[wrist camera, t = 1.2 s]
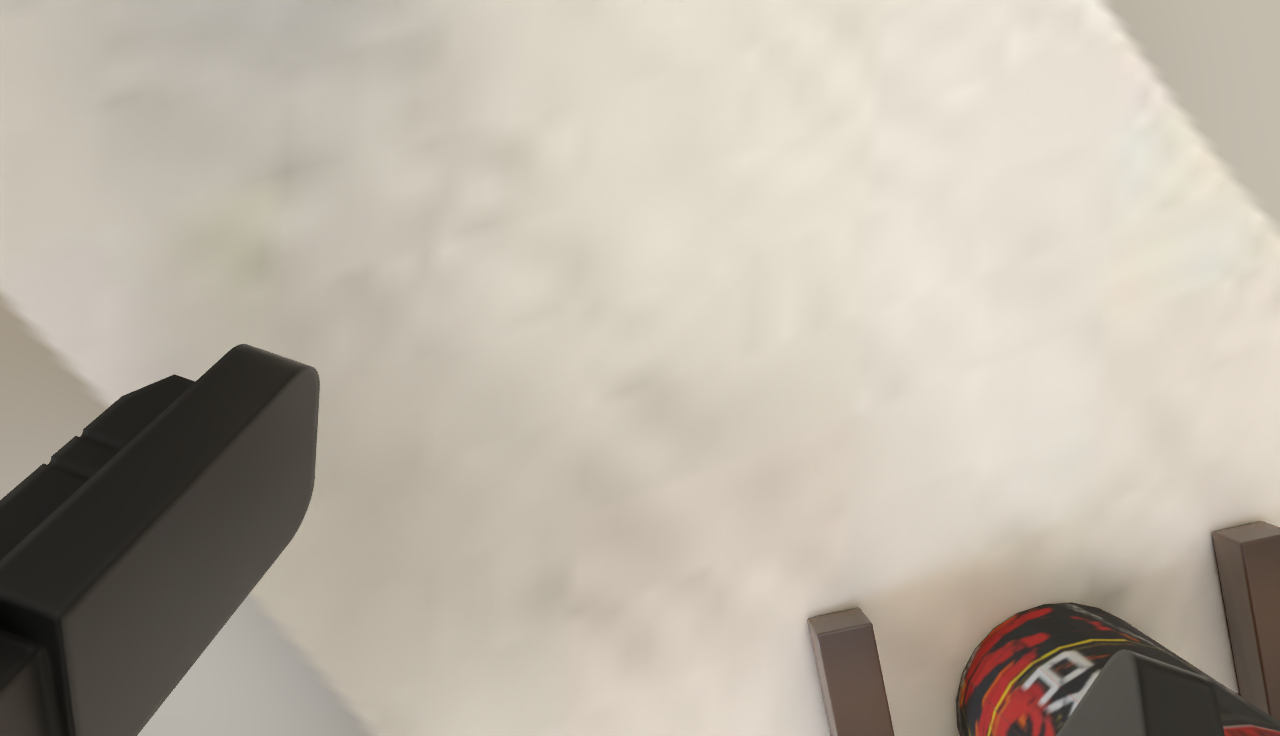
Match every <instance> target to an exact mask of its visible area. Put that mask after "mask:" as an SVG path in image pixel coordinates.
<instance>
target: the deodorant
mask: <svg viewBox="0 0 1280 736" xmlns="http://www.w3.org/2000/svg"><path fill="white" fill-rule="evenodd" d="M1123 649H1125V650H1129V651H1132V652H1135V653H1138V654H1141V655H1144V656H1147V657H1149V658H1152V659H1155V660H1158V661H1161V662H1164V663H1167V664H1170V665H1173V666H1176V667H1179V668H1181V669H1184V670H1187V671H1190V672H1193V673H1196V674H1199V675H1202V676H1204V677H1206V678H1208V679H1209V680H1210V682H1211V683H1212V685H1213V687H1214V689H1215V692H1216V696H1217V700H1218V705H1219V710H1220V715H1221V719H1222V724H1223V729H1224V733H1225V736H1280V722H1279V721H1278V720H1276V719H1275V718H1273V717H1271V716H1270V715H1268V714H1267V713H1265V712H1264V711H1262V710H1261V709H1259V708H1258V707H1256V706H1254V705H1253V704H1251V703H1250V702H1248V701H1247V700H1245V699H1244V698H1242V697H1241V696H1239V695H1237V694H1236V693H1234V692H1233V691H1231V690H1230V689H1228V688H1227V687H1225V686H1224V685H1222V684H1220V683H1219V682H1217V681H1216V680H1214V679H1213V678H1211V677H1210V676H1208V675H1207V674H1205V673H1203V672H1202V671H1200V670H1199V669H1197V668H1196V667H1194V666H1193V665H1191V664H1190V663H1188V662H1186V661H1185V660H1183V659H1182V658H1180V657H1179V656H1177V655H1176V654H1174V653H1173V652H1171V651H1169V650H1168V649H1166V648H1165V647H1163V646H1162V645H1160V644H1159V643H1157V642H1156V641H1154V640H1152V639H1151V638H1149V637H1148V636H1146V635H1145V634H1143V633H1142V632H1140V631H1139V630H1137V629H1135V628H1134V627H1132V626H1131V625H1129V624H1128V623H1126V622H1125V621H1123V620H1121V619H1119V618H1117V617H1115V616H1113V615H1111V614H1109V613H1107V612H1105V611H1103V610H1101V609H1099V608H1095V607H1090V606H1085V605H1080V604H1075V603H1061V604H1047V605H1041V606H1038V607H1035V608H1032V609H1029V610H1026V611H1023V612H1020V613H1017V614H1016V615H1014V616H1013V617H1011V618H1010V619H1008V620H1007V621H1005V622H1003V623H1002V624H1000V625H999V626H997V627H996V628H994V629H993V630H992V631H991V632H990V634H989V635H988V636H987V637H986V638H985V639H984V640H983V641H982V642H981V643H980V645H979V646H978V647H977V648H976V649H975V651H974V653H973V655H972V656H971V658H970V660H969V662H968V664H967V666H966V668H965V670H964V672H963V674H962V678H961V682H960V687H959V691H958V696H957V700H956V701H957V724H958V730H959V733H960V736H1056V735H1057V734H1058V732H1059V731H1060V730H1061V728H1062V727H1063V725H1064V724H1065V722H1066V721H1067V719H1068V718H1069V717H1070V715H1071V714H1072V712H1073V711H1074V709H1075V708H1076V706H1077V705H1078V703H1079V702H1080V701H1081V699H1082V698H1083V696H1084V695H1085V693H1086V692H1087V690H1088V689H1089V687H1090V686H1091V685H1092V683H1093V682H1094V680H1095V679H1096V677H1097V676H1098V674H1099V673H1100V671H1101V670H1102V669H1103V667H1104V666H1105V664H1106V663H1107V661H1108V660H1109V659H1110V658H1111V657H1112V656H1113V655H1114V654H1115V653H1116V652H1118V651H1119V650H1123Z"/></svg>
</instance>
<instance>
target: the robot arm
mask: <svg viewBox="0 0 1280 736" xmlns="http://www.w3.org/2000/svg"><path fill="white" fill-rule="evenodd" d="M319 391H320V381H319V375H318V372H317V371H316V369H315V368H313V367H311V366H308V365H305V364H302V363H299V362H297V361H294V360H291V359H288V358H285V357H282V356H279V355H276V354H273V353H270V352H267V351H265V350H262V349H259V348H256V347H253V346H250V345H247V344H241V345H238V346H236V347H234V348H232V349H231V350H230V351H229V352H228V353H226V354H225V355H224V356H223V357H222V358H221V359H220V360H219V361H218V362H217V363H216V364H214V365H213V366H212V367H211V368H210V369H209V370H208V371H207V372H206V373H205V374H204V375H202V376H201V377H200V378H199V379H198V380H197V381H196V382H194V381H192V380H189V379H186V378H183V377H180V376H177V375H172V376H170V377H167V378H165V379H162V380H160V381H158V382H155V383H153V384H150V385H148V386H146V387H143V388H141V389H138V390H136V391H134V392H131V393H129V394H126V395H124V396H122V397H121V398H119V399H118V400H117V401H116V402H115V403H114V404H112V405H111V406H110V407H109V408H108V409H107V410H105V411H104V412H103V413H102V414H101V415H100V416H99V417H97V418H96V419H95V420H94V421H93V422H92V423H90V424H89V425H88V426H87V427H86V428H84V429H83V433H82V435H81V437H77V436H75V437H74V438H73V439H72V440H70V441H69V442H68V443H67V444H66V445H64V446H63V447H62V448H61V449H60V450H59V451H58V452H56V453H55V454H54V455H53V456H52V457H51V461H50V463H49V464H48V465H46V464H42V465H41V466H40V467H39V468H38V469H36V470H35V471H34V472H33V473H32V474H31V475H29V477H27V478H26V479H25V480H24V481H22V482H21V483H20V484H19V485H18V486H17V487H15V488H14V489H13V490H12V491H11V492H10V493H8V494H7V495H6V496H5V497H4V498H3V499H2V500H0V736H137V735H138V733H139V732H140V731H141V730H142V729H143V727H144V726H145V725H146V723H147V722H148V721H149V719H150V718H151V717H152V716H153V715H154V713H155V712H156V711H157V710H158V708H159V707H160V706H161V704H162V703H163V702H164V701H165V699H166V698H167V697H168V696H169V694H170V693H171V692H172V691H173V689H174V688H175V687H176V685H177V684H178V683H179V681H180V680H181V679H182V678H183V677H184V675H185V674H186V673H187V672H188V670H189V669H190V667H191V666H192V665H193V664H194V663H195V661H196V660H197V659H198V658H199V656H200V655H201V654H202V652H203V651H204V650H205V649H206V647H207V646H208V645H209V644H210V642H211V641H212V640H213V639H214V637H215V636H216V635H217V634H218V632H219V631H220V630H221V628H222V627H223V626H224V625H225V623H226V622H227V621H228V620H229V618H230V617H231V616H232V615H233V613H234V612H235V611H236V609H237V608H238V607H239V605H240V604H241V603H242V602H243V601H244V599H245V598H246V597H247V596H248V594H249V593H250V592H251V591H252V589H253V588H254V587H255V585H256V584H257V583H258V582H259V580H260V579H261V578H262V577H263V575H264V574H265V573H266V572H267V570H268V569H269V568H270V566H271V565H272V564H273V563H274V561H275V560H276V559H277V558H278V556H279V555H280V554H281V553H282V551H283V550H284V549H285V547H286V546H287V545H288V544H289V542H290V541H291V540H292V538H293V537H294V535H295V533H296V532H297V530H298V528H299V526H300V524H301V522H302V520H303V518H304V516H305V514H306V511H307V509H308V506H309V503H310V500H311V496H312V492H313V487H314V479H315V461H316V444H317V426H318V408H319ZM1056 736H1225V733H1224V729H1223V724H1222V719H1221V715H1220V710H1219V705H1218V700H1217V696H1216V692H1215V689H1214V687H1213V685H1212V683H1211V682H1210V680H1209V679H1208V678H1206V677H1204V676H1202V675H1199V674H1196V673H1193V672H1190V671H1187V670H1184V669H1181V668H1179V667H1176V666H1173V665H1170V664H1167V663H1164V662H1161V661H1158V660H1155V659H1152V658H1149V657H1147V656H1144V655H1141V654H1138V653H1135V652H1132V651H1129V650H1125V649H1123V650H1119V651H1118V652H1116V653H1115V654H1114V655H1113V656H1112V657H1111V658H1110V659H1109V660H1108V661H1107V663H1106V664H1105V666H1104V667H1103V669H1102V670H1101V671H1100V673H1099V674H1098V676H1097V677H1096V679H1095V680H1094V682H1093V683H1092V685H1091V686H1090V687H1089V689H1088V690H1087V692H1086V693H1085V695H1084V696H1083V698H1082V699H1081V701H1080V702H1079V703H1078V705H1077V706H1076V708H1075V709H1074V711H1073V712H1072V714H1071V715H1070V717H1069V718H1068V719H1067V721H1066V722H1065V724H1064V725H1063V727H1062V728H1061V730H1060V731H1059V732H1058V734H1057V735H1056Z"/></svg>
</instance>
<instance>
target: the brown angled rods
mask: <svg viewBox="0 0 1280 736" xmlns="http://www.w3.org/2000/svg"><path fill="white" fill-rule="evenodd" d="M1212 535H1213V541H1214V547H1215V552H1216V558H1217V564H1218V569H1219V575H1220V581H1221V587H1222V592H1223V598H1224V604H1225V610H1226V615H1227V621H1228V627H1229V632H1230V638H1231V644H1232V650H1233V655H1234V661H1235V667H1236V673H1237V678H1238V684H1239V690H1240V696H1241V697H1242V698H1244V699H1245V700H1247V701H1248V702H1250V703H1251V704H1253V705H1254V706H1256V707H1258V708H1259V709H1261V710H1262V711H1264V712H1265V713H1267V714H1268V715H1270V716H1271V717H1273V718H1275V719H1276V720H1278V721H1279V722H1280V527H1277V526H1274V525H1271V524H1269V523H1266V522H1262V521H1261V522H1257V523H1252V524H1247V525H1243V526H1238V527H1233V528H1229V529H1224V530H1219V531H1215V532H1213V534H1212ZM808 625H809V630H810V635H811V640H812V645H813V650H814V655H815V659H816V664H817V669H818V674H819V679H820V684H821V689H822V694H823V699H824V704H825V709H826V714H827V718H828V723H829V728H830V733H831V736H894V731H893V726H892V721H891V716H890V711H889V706H888V701H887V696H886V691H885V686H884V681H883V676H882V671H881V666H880V661H879V656H878V651H877V646H876V641H875V636H874V631H873V626H872V623H871V622H870V621H869V619H868V618H867V617H866V615H865V614H864V613H863V612H862V610H861V609H860V608H855V609H850V610H846V611H841V612H836V613H832V614H827V615H822V616H818V617H813V618H809V619H808Z"/></svg>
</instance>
